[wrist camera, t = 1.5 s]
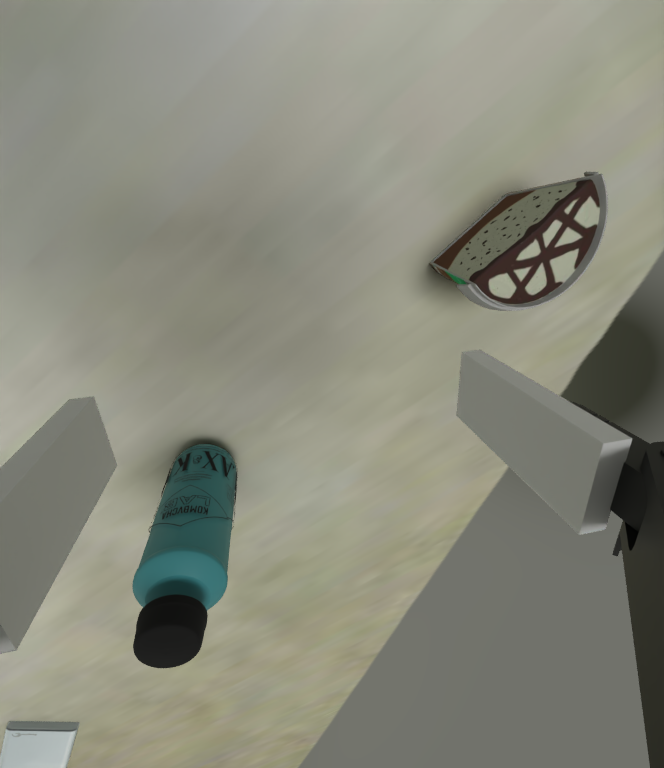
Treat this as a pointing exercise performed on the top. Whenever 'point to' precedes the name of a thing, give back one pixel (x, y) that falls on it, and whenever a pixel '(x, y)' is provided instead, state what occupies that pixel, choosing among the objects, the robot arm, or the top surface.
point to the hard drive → (38, 744)
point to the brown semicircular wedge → (529, 244)
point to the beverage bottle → (185, 557)
